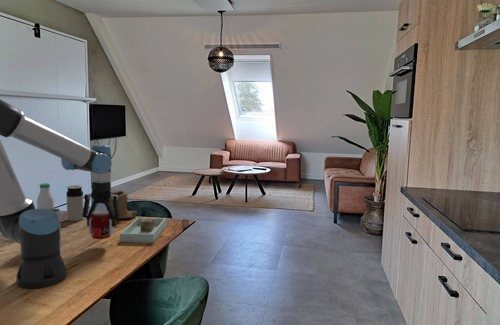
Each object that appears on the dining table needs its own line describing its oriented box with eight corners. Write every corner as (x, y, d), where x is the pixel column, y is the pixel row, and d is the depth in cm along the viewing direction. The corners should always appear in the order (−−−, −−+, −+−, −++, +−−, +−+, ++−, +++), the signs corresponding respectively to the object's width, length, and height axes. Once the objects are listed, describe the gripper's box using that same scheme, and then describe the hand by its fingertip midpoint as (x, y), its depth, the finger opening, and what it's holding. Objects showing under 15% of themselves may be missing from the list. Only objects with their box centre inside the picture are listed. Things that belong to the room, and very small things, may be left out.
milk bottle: (57, 221, 195) (56, 183, 192) (43, 224, 188) (41, 185, 186) (49, 218, 199) (47, 182, 197) (34, 222, 193) (32, 184, 190)
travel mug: (83, 220, 197) (82, 187, 194) (66, 222, 194) (65, 188, 191) (84, 216, 204) (83, 184, 202) (68, 218, 201) (66, 185, 199)
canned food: (104, 240, 155) (104, 214, 153) (87, 238, 156) (87, 212, 155) (114, 235, 162) (114, 210, 161) (98, 233, 164) (98, 208, 162)
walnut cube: (140, 231, 179) (140, 221, 178) (143, 228, 184) (143, 218, 183) (150, 231, 179) (150, 221, 178) (153, 228, 184) (153, 218, 183)
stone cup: (103, 221, 196) (103, 193, 194) (109, 215, 208) (108, 189, 206) (133, 221, 198) (132, 193, 196) (137, 215, 210) (137, 189, 208)
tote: (153, 243, 165) (153, 234, 165) (119, 242, 165) (119, 233, 165) (166, 225, 191) (166, 218, 191) (137, 225, 191) (137, 217, 190)
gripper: (128, 180, 160) (128, 232, 163) (80, 179, 160) (81, 230, 163) (122, 183, 153) (122, 237, 155) (72, 181, 153) (73, 235, 155)
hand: (101, 233), depth 159 cm, fingers closed on canned food, 8 cm apart
